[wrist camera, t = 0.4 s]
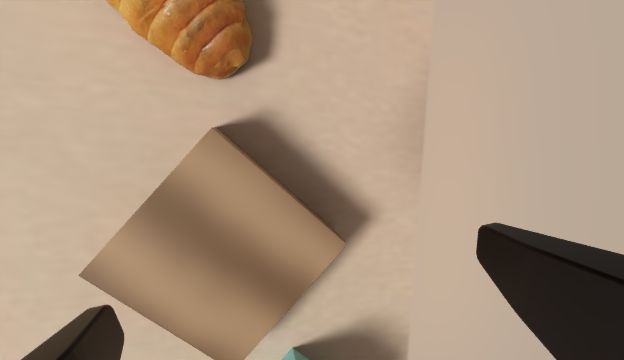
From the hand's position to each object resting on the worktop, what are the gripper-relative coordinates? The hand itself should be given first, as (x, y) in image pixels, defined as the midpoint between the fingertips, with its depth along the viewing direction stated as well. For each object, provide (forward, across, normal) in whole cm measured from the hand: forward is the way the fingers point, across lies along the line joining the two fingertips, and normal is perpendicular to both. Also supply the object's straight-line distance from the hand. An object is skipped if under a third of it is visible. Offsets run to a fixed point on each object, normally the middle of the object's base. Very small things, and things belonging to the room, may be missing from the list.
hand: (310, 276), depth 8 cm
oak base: (+14, +4, +6) cm, 16 cm away
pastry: (+17, +4, -9) cm, 20 cm away
